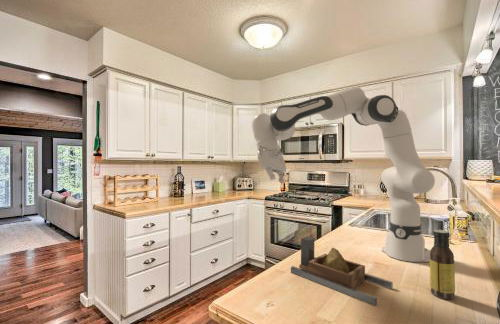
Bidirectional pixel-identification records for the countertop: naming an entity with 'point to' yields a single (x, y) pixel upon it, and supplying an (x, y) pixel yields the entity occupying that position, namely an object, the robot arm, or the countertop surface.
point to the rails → (343, 288)
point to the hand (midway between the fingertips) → (277, 180)
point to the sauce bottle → (442, 266)
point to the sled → (329, 273)
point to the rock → (336, 261)
